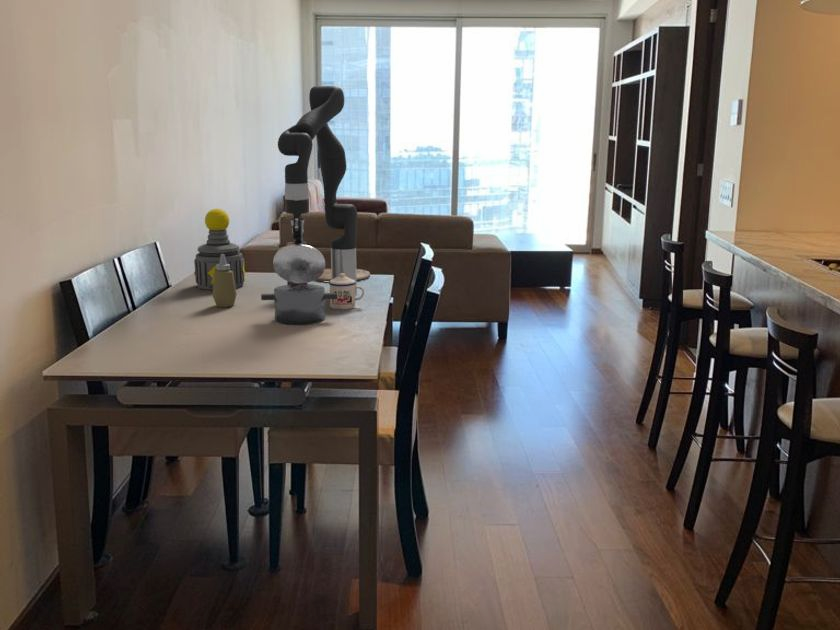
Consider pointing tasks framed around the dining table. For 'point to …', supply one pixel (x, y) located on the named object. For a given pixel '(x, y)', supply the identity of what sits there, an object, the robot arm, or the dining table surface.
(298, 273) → the lid
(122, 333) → the dining table surface
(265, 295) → the cooker pot
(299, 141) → the robot arm
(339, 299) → the teacup with lid
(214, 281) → the squeeze bottle
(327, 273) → the trivet
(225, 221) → the decorative lamp
